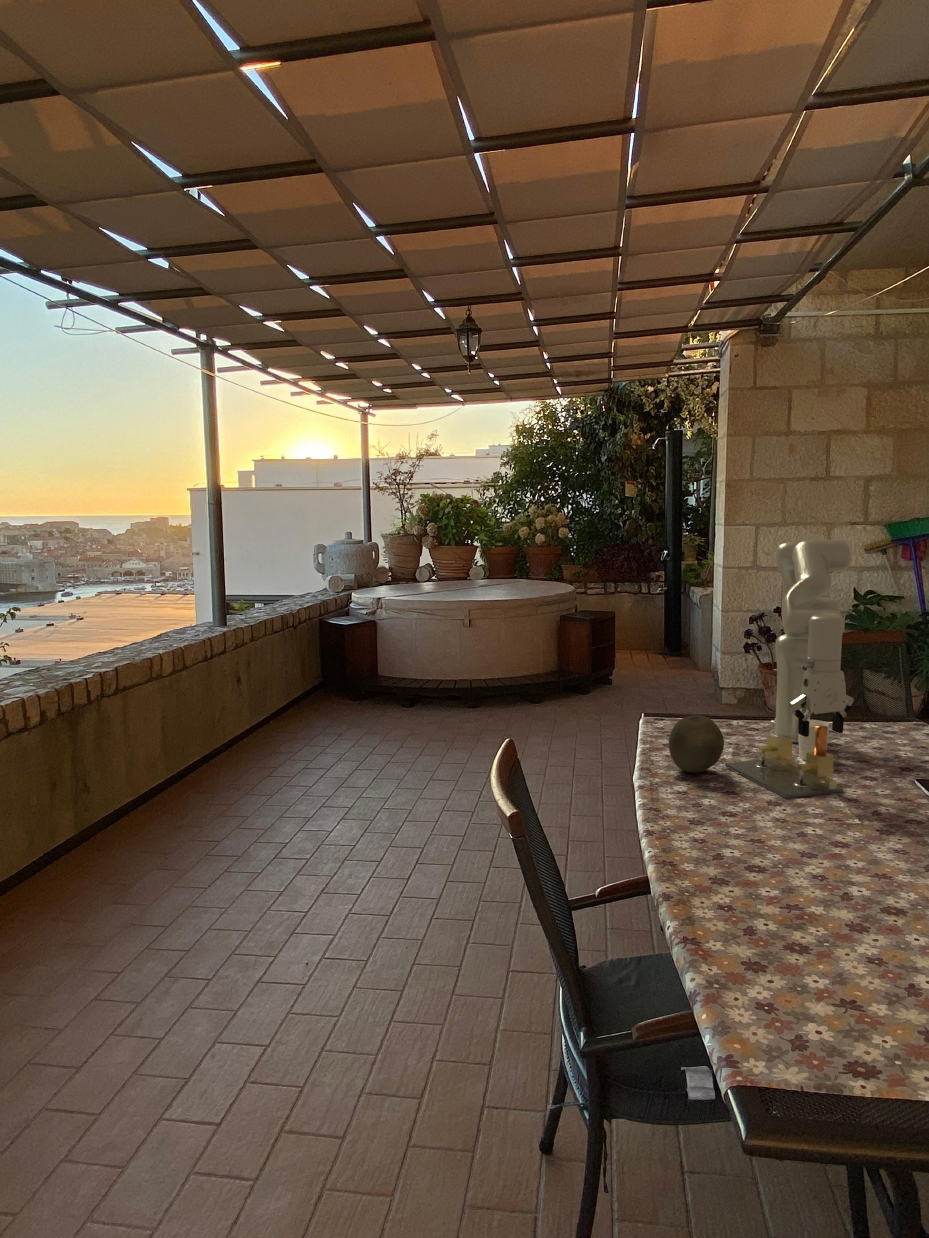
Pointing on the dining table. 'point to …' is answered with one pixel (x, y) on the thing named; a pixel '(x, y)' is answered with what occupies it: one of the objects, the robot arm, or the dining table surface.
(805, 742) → the white cup
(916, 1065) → the dining table surface
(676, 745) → the dimpled olive sphere
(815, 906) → the dining table surface
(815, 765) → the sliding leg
